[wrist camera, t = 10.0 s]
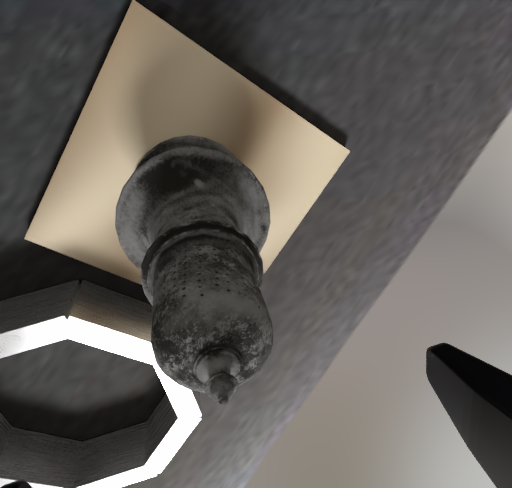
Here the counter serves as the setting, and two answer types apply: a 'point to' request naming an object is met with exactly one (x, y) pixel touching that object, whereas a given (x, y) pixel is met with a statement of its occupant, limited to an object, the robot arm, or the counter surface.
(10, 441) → the white octagonal ring
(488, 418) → the robot arm
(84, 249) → the beige pad
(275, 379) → the counter surface
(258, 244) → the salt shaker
